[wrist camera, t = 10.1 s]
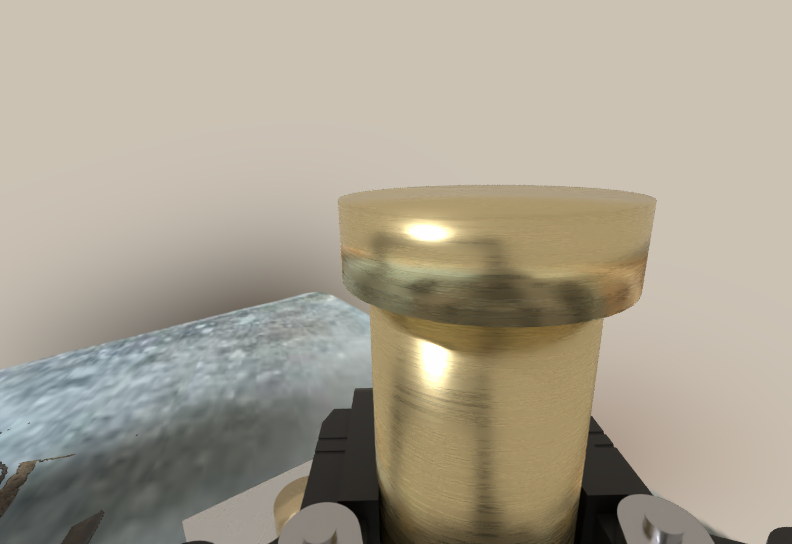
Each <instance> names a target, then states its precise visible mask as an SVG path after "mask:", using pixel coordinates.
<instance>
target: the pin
mask: <svg viewBox="0 0 792 544" xmlns="http://www.w3.org/2000/svg"><path fill="white" fill-rule="evenodd" d="M655 207H656V199H655V198H653V197H651V196H648V195H644V194H639V193H634V192H626V191H618V190H609V189H597V188H583V187H582V188H581V187H564V186H534V185H457V186H455V185H454V186H425V187H407V188H394V189H382V190H373V191H365V192H358V193H353V194H349V195H345V196H342V197H340V198H339V199H338V209H339V226H340V243H341V259H342V277H343V284H344V285H345V287H346V289H347V290H348V291H350V292H351V293H352V294H353V295H354V296H356V297H358V298H359V299H361V300H362V301H364V302H366V303H369V304H370V327H371V352H372V376H373V401H374V426H375V450H376V472H377V479H378V483H379V502H380V528H381V544H574V537H575V529H576V522H577V514H578V507H579V499H580V492H581V484H582V477H583V469H584V462H585V454H586V447H587V439H588V432H589V424H590V417H591V409H592V402H593V394H594V387H595V380H596V372H597V364H598V357H599V350H600V342H601V335H602V327H603V320H604V318H605V317H609V316H612V315H614V314H617V313H620V312H622V311H624V310H626V309H628V308H629V307H631V306H633V305H634V304H635V303H636V302H637V301H638V300H639V299H640V296H641V294H642V289H643V282H644V276H645V270H646V264H647V257H648V251H649V245H650V238H651V232H652V226H653V219H654V213H655Z"/></svg>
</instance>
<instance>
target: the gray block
mask: <svg viewBox="0 0 792 544" xmlns="http://www.w3.org/2000/svg"><path fill="white" fill-rule="evenodd" d="M312 461H313V459H312V460H309V461H307V462H305V463H303V464H301V465H299V466H297V467H295V468H293V469H291V470H288V471H286V472H284V473H282V474H280V475H278V476H276V477H274V478H272V479H269V480H267V481H265V482H263V483H261V484H259V485H257V486H255V487H253V488H250V489H248V490H246V491H244V492H242V493H240V494H238V495H236V496H234V497H231V498H229V499H227V500H225V501H223V502H221V503H219V504H217V505H215V506H213V507H210V508H208V509H206V510H204V511H202V512H200V513H198V514H196V515H194V516H191V517H189V518H187V519H185V520H183V521H182V524H183V529H184V534H185V538H186V542H190V541H199V540H200V541H208V542H212V543H214V544H268V543H270V542H272V541H274V540H275V539H276V538H278V537H279V536H280V534H281V531H282V529H283V528H284V526H285V524H286V523H287V522H288V521H289V519H290V518H291V517H292V516H293V515H295V514H296V513H297V512H299V511H300V508H301V504H302V500H303V496H304V492H305V489H306V485H307V481H308V477H309V473H310V469H311V465H312Z"/></svg>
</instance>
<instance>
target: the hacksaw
mask: <svg viewBox="0 0 792 544" xmlns="http://www.w3.org/2000/svg"><path fill="white" fill-rule="evenodd" d="M28 424H29V423H28ZM8 430H9V429H8ZM1 433H2V432H0V434H1ZM137 435H138V434H137ZM137 435H136V436H137ZM72 455H75V454H72ZM72 455H68V456H63V457H69V456H72ZM63 457H58V458H63ZM58 458H50V459H51V460H53V459H58ZM45 460H46V461H47V460H49V459H44V460H42V461H40V460H34V461H28V462H22V463H20V465H19V466H18V467H19V468H18V469H17V473H16V474H15V475H13V476H12V477H10V478H9V479H8V481H7V482H6V485H5V486H4V487H3V488H2V489H1V490H0V517H1V516H2V515H3V513H4V512H5V510H6V509H7V507H8V506H9V504H10V503H11V502H12V500H13V499H14V497H15V496H16V494H17V492H18V490H19V489H18V488H19V487H20V486H21V485H23V484H24V482H25V481H26V479H27V475H28V474H29V473H30V472H31V471H32V470H33V469H34V467H35V463H36V461H40V462H43V461H45ZM0 467H1V468H0V469H2V470H3V471H2V472H1V473H2V475H0V484H1V481H2V480H3V479H4V477H5V475H6V474H7V473H8V472H7V468H8V467H6V466H5V464H2V462H0ZM103 514H104V512H103V511H102V510H101V511H100V513H98V514H96V515H94V516H92V517H90V518H88V519H86V520H84V521H83V522H81V523H79V524H77V525H75V526H73V527H72V528H71V530H70V531H69V533H68V534H67V536H66V537H65V539H64V540H63V542H62V544H87V543H88V542H89V540H90V539H91V536H92V535H93V532H94V531H95V530H96V528H97V527H98V524H99V523H100V522H99V521H100V520H102V518H101V517H103V516H102V515H103Z"/></svg>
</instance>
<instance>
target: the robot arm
mask: <svg viewBox="0 0 792 544" xmlns="http://www.w3.org/2000/svg"><path fill="white" fill-rule="evenodd" d="M183 544H214V543H212V542H208V541H200V540H199V541H190V542H186V543H183ZM268 544H381V528H380V502H379V483H378V479H377V472H376V450H375V426H374V401H373V388H356V389H355V391H354V397H353V403H352V409H334V410H333V411H332V412H331V413H330V414H329V416H328V417H327V418H326V419H325V420H324V421H323V423H322V427H321V430H320V434H319V440H318V442H317V446H316V450H315V455H314V458H313V461H312V465H311V469H310V473H309V477H308V481H307V485H306V489H305V492H304V496H303V500H302V504H301V508H300V511H299V512H297V513H296V514H295V515H293V516H292V517H291V518H290V519H289V521H288V522H287V523H286V524H285V526H284V528H283V529H282V531H281V534H280V536H279V537H278V538H276V539H275V540H274V541H272V542H270V543H268ZM574 544H745V543H742V542H738V541H733V540H729V539H725V538H721V537H717V536H714V535H710V534H709V533H708V532H707V531H706V529H705V528H704V527H703V525H702V524H701V523H700V522H699V521H698V520H697V519H696V518H695V517H693V516H692V515H691V514H690V513H688V512H687V511H686V510H684V509H683V508H681V507H679V506H678V505H676V504H674V503H672V502H670V501H667V500H665V499H662V498H659V497H656V496H653V495H652V493H651V492H650V491H649V489H648V488H647V487H646V486H645V484H644V483H643V482H642V480H641V479H640V478H639V477H638V475H637V474H636V473H635V471H634V470H633V469H632V467H631V466H630V465H629V464H628V462H627V461H626V460H625V459H624V457H623V456H622V455H621V453H620V452H619V451H618V449H617V448H614V446H613V443H612V442H611V440H610V439H609V438H608V437H607V435H606V434H604V432H603V430H602V429H601V427H600V426H599V425H598V424H597V422H596V421H595V420H594V418H593V417H592V416H591V417H590V424H589V432H588V439H587V447H586V454H585V462H584V469H583V477H582V484H581V492H580V499H579V507H578V514H577V522H576V529H575V537H574ZM766 544H792V527H781V528H777V529H775V530H773V531H772V532H771V533H770V535H769V537H768V540H767V543H766Z"/></svg>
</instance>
